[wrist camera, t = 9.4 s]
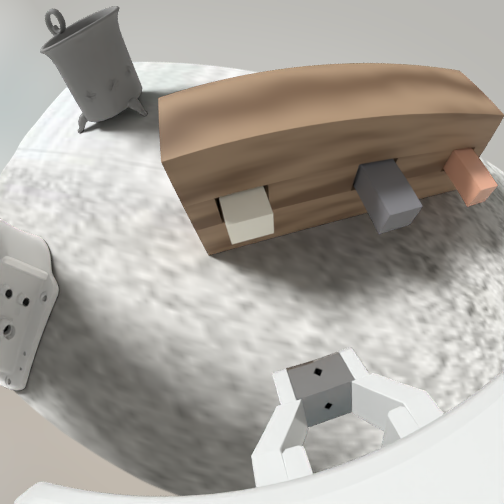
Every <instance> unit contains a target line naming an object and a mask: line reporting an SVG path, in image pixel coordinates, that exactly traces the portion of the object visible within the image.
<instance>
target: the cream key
mask: <svg viewBox="0 0 504 504" xmlns="http://www.w3.org/2000/svg"><path fill="white" fill-rule="evenodd" d="M219 200H220V204H221V208H222V212H223V216H224V220H225V224H226V228H227V231H228V234H229V237H230V240H231V243H232V244H236V243H240V242H243V241H247V240H251V239H254V238H258V237H262V236H265V235H269V234H273V233H274V221H273V211H272V209H271V206H270V203H269V200H268V198H267V195H266V192H265V189H264V187H263V186H260V187H256V188H252V189H248V190H244V191H240V192H236V193H233V194H229V195H225V196H222V197H219Z"/></svg>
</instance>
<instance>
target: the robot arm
mask: <svg viewBox="0 0 504 504" xmlns="http://www.w3.org/2000/svg"><path fill="white" fill-rule="evenodd" d="M58 292H59V288H58V284H57V282H56V279H55V278H54V276H53V274H52V269H51V257H50V252H49V248H48V246H47V244H46V242H45V241H44V240H43V239H42V238H41V237H39V236H37V235H33V234H30V233H27V232H25V231H22V230H20V229H18V228H16V227H14V226H12V225H11V224H9V223H7V222H5V221H4V220H2V219H1V218H0V385H1V386H3V387H5V388H8V389H11V390H22V389H24V388H25V386H26V383H27V379H28V376H29V372H30V369H31V366H32V362H33V359H34V356H35V353H36V350H37V347H38V344H39V341H40V339H41V336H42V333H43V330H44V328H45V325H46V323H47V320H48V317H49V315H50V313H51V310H52V308H53V305H54V303H55V301H56V298H57V296H58ZM46 299H47V300H46ZM272 375H273V379H274V382H275V386H276V390H277V393H278V397H279V401H280V404H281V405H279V406H277V407H276V409H275V411H274V413H273V415H272V417H271V419H270V421H269V423H268V425H267V427H266V429H265V431H264V433H263V435H262V436H261V438H260V440H259V442H258V444H257V446H256V448H255V450H254V452H253V453H252V455H251V458H252V465H253V471H254V477H255V483H256V488H251V489H245V490H238V491H231V492H223V493H215V494H204V495H189V496H134V495H121V494H110V493H102V492H94V491H88V490H82V489H76V488H71V487H66V486H61V485H57V484H53V483H49V482H38V483H36V484H35V485H33V486H32V487H30V488H29V489H28V490H27V491H26V492H24V493H23V494H22V495H21V496H19V497H18V498H17V499H16V500H15V502H14V504H504V370H503V371H502V372H501V373H499V374H498V375H497V376H496V377H495V378H493V379H492V380H491V381H490V382H488V383H487V384H486V385H485V386H483V387H482V388H481V389H479V390H478V391H477V392H476V393H474V394H473V395H471V396H470V397H469V398H467V399H466V400H464V401H463V402H462V403H460V404H459V405H457V406H456V407H454V408H453V409H451V410H450V411H448V412H447V413H445V414H444V413H443V412H442V411H441V409H440V408H439V407H438V405H437V404H436V403H435V402H434V400H433V399H432V398H431V396H430V395H429V394H428V393H427V391H424V390H421V389H418V388H415V387H412V386H409V385H406V384H403V383H401V382H398V381H395V380H392V379H389V378H387V377H384V376H381V375H378V374H376V373H371V374H369V372H368V371H367V369H366V368H365V366H364V365H363V363H362V362H361V360H360V359H359V357H358V356H357V354H356V353H355V351H354V350H353V349H352V348H351V347H348V348H346V349H343V350H340V351H338V352H335V353H332V354H330V355H327V356H324V357H321V358H318V359H315V360H312V361H310V362H306V363H303V364H299V365H296V366H292V367H289V368H286V369H283V370H279V371H275V372H272ZM351 412H352V413H353V414H354V415H356V416H358V417H359V418H361V419H363V420H365V421H366V422H368V423H370V424H372V425H373V426H375V427H377V428H379V429H380V430H382V431H384V436H383V441H382V445H381V448H380V449H378V450H376V451H373V452H371V453H369V454H366V455H364V456H362V457H359V458H357V459H354V460H352V461H349V462H346V463H344V464H341V465H338V466H335V467H332V468H329V469H326V470H323V471H320V472H317V473H314V474H313V472H312V469H311V466H310V463H309V460H308V457H307V454H306V451H305V448H304V447H302V446H303V443H304V440H305V437H306V434H307V431H308V427H311V426H314V425H317V424H319V423H322V422H325V421H328V420H330V419H333V418H336V417H339V416H342V415H345V414H348V413H351Z"/></svg>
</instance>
